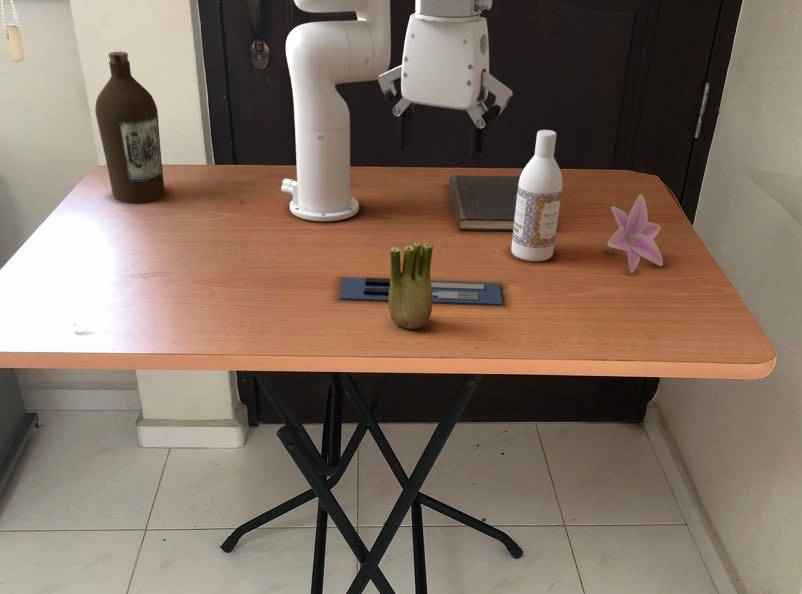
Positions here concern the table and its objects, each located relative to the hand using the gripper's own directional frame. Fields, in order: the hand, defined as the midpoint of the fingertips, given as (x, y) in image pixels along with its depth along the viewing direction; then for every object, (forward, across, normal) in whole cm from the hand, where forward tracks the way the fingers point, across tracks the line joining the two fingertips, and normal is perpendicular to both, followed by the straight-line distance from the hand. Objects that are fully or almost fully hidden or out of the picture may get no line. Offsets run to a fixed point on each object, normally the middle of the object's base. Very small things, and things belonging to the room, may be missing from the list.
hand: (440, 151), depth 106 cm
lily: (+24, -21, -33) cm, 46 cm away
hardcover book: (+23, +7, -46) cm, 52 cm away
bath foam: (+24, -6, -28) cm, 37 cm away
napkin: (+24, +5, -6) cm, 25 cm away
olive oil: (+23, +68, -19) cm, 75 cm away
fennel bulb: (+24, +2, +4) cm, 24 cm away
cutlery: (+24, +5, -6) cm, 25 cm away
